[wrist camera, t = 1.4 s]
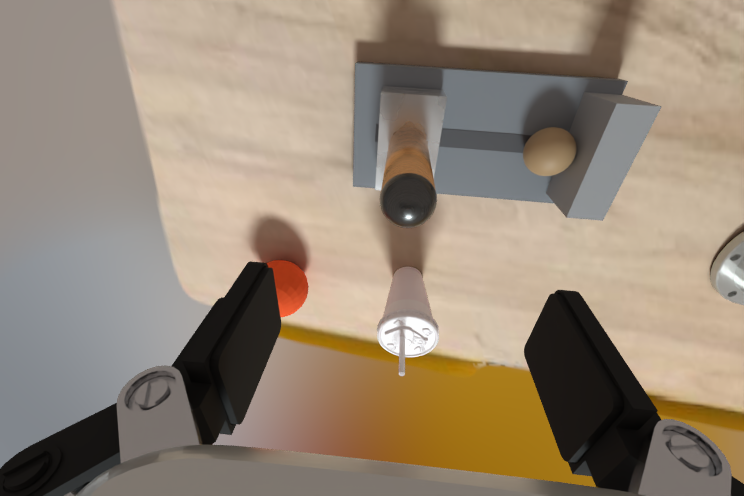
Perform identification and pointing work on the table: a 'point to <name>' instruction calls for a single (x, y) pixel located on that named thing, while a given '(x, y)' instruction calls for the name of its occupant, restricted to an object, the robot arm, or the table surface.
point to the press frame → (515, 134)
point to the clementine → (289, 286)
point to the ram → (408, 153)
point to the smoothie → (407, 318)
